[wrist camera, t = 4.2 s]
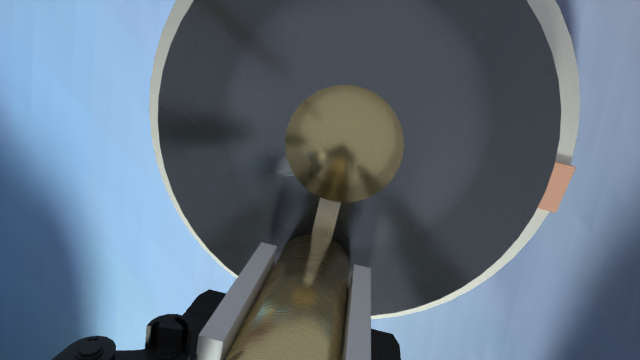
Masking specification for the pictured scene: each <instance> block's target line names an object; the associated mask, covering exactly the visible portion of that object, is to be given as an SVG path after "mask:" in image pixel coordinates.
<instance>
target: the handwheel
mask: <svg viewBox="0 0 640 360" xmlns="http://www.w3.org/2000/svg"><path fill="white" fill-rule="evenodd" d="M560 125H561V100H560V89H559V80H558V75H557V71H556V67H555V63H554V59H553V54H552V51H551V49H550V46H549V44H548V41H547V39H546V36H545V34H544V31H543V29H542V26H541V24H540V22H539V20H538V19H537V17H536V15H535V14H534V12H533V10H532V9H531V7H530V5H529V3H528V2H527V0H194V1H193V2H192V4H191V6H190V7H189V9H188V11H187V12H186V14H185V15H184V17H183V19H182V20H181V22H180V24H179V27H178V29H177V31H176V33H175V36H174V38H173V40H172V42H171V45H170V48H169V51H168V54H167V58H166V61H165V64H164V68H163V72H162V78H161V84H160V90H159V97H158V131H159V143H160V149H161V154H162V158H163V163H164V168H165V171H166V174H167V177H168V180H169V183H170V186H171V189H172V192H173V194H174V196H175V198H176V200H177V202H178V204H179V207H180V209H181V211H182V213H183V214H184V216H185V218H186V219H187V221H188V222H189V224H190V226H191V227H192V229H193V230H194V232H195V233H196V234H197V236H198V237H199V238H200V239H201V241H202V242H203V243H204V244H205V246H206V247H207V248H208V249H209V251H210V252H212V253H213V254H214V255H215V256H216V257H217V258H218V259H219V260H220V261H221V262H222V263H223V264H224V265H225V266H226V267H227V268H228V269H230V270H231V271H232V272H233V273H235V274H236V275H237V276H239V275H240V273H241V272H242V270H243V269H244V267H245V266H246V264H247V263H248V261H249V260H250V258H251V257H252V255H253V254H254V252H255V251H256V250H257V248H258V247H259V245H260V244H261V242H262V243H267V244H271V245H275V246H277V250H276V256H275V262H274V267H273V269H272V271H271V273H270V275H269V277H268V278H267V280H266V282H265V284H264V286H263V288H262V290H261V292H260V294H259V296H258V297H257V299H256V301H255V303H254V305H253V307H252V309H251V311H250V313H249V315H248V317H247V318H246V320H245V322H244V324H243V326H242V328H241V330H240V332H239V334H238V336H237V337H236V339H235V341H234V343H233V345H232V347H231V349H230V351H229V353H228V355H227V356H226V358H225V360H341V350H342V341H343V332H344V323H345V313H346V304H347V295H348V288H349V284H350V279H351V275H352V271H353V267H354V264H355V265H359V266H364V267H368V268H371V316H375V315H383V314H390V313H397V312H401V311H405V310H409V309H413V308H417V307H420V306H423V305H425V304H428V303H431V302H433V301H436V300H439V299H441V298H443V297H445V296H447V295H449V294H451V293H453V292H455V291H457V290H458V289H460V288H462V287H464V286H465V285H467V284H468V283H470V282H471V281H473V280H474V279H475V278H477V277H478V276H480V275H481V274H483V273H484V272H485V271H486V270H487V269H488V268H490V267H491V266H492V265H493V264H494V263H495V262H496V261H497V260H499V259H500V258H501V257H502V256H503V255H504V254H505V252H506V251H507V250H508V249H509V248H510V247H511V246H512V245H513V243H514V242H515V241H516V240H517V239H518V238H519V236H520V235H521V233H522V232H523V230H524V229H525V227H526V226H527V224H528V223H529V222H530V220H531V219H532V217H533V216H534V214H535V212H536V210H537V208H538V206H539V204H540V202H541V200H542V198H543V196H544V194H545V192H546V189H547V186H548V183H549V180H550V177H551V174H552V171H553V168H554V165H555V160H556V155H557V150H558V145H559V140H560Z"/></svg>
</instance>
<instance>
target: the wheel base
mask: <svg viewBox="0 0 640 360" xmlns="http://www.w3.org/2000/svg"><path fill="white" fill-rule="evenodd" d="M193 1H194V0H176V2H175V4H174V6H173V8H172V10H171V13H170V15H169V17H168V19H167V22H166V24H165V26H164V28H163V31H162V34H161V38H160V41H159V44H158V48H157V51H156V55H155V59H154V65H153V71H152V77H151V83H150V107H149V112H150V124H151V136H152V141H153V146H154V151H155V156H156V161H157V164H158V167H159V170H160V173H161V176H162V179H163V182H164V185H165V187H166V190H167V192H168V194H169V196H170V198H171V200H172V202H173V205H174V207H175V209H176V210H177V212H178V213H179V215H180V217H181V218H182V220H183V222H184V223H185V225H186V226H187V228H188V230H189V231H190V232H191V233H192V235H193V236H194V237H195V238H196V240H197V241H198V242H199V243H200V245H201V246H202V247H203V248H204V249H205V250H206V251H207V252H208V253H209V254H210V255H211V256H212V257H213V258H214V260H215V261H216V262H217V263H218V264H219V265H221V266H222V267H223V268H224V269H226V270H227V271H228V272H229V273H231V274H232V275H233V276H234V277H236V278H238V276H237V275H236V274H235V273H233V272H232V271H231V270H230V269H228V268H227V267H226V266H225V265H224V264H223V263H222V262H221V261H220V260H219V259H218V258H217V257H216V256H215V255H214V254H213V253H212V252H210V251H209V249H208V248H207V247H206V246H205V244H204V243H203V242H202V241H201V239H200V238H199V237H198V236H197V234H196V233H195V232H194V230H193V229H192V227H191V226H190V224H189V222H188V221H187V219H186V218H185V216H184V214H183V213H182V211H181V209H180V207H179V204H178V202H177V200H176V198H175V196H174V194H173V192H172V189H171V186H170V183H169V180H168V177H167V174H166V171H165V168H164V163H163V158H162V154H161V149H160V143H159V131H158V97H159V90H160V84H161V78H162V72H163V68H164V64H165V61H166V58H167V54H168V51H169V48H170V45H171V42H172V40H173V38H174V36H175V33H176V31H177V29H178V27H179V24H180V22H181V20H182V19H183V17H184V15H185V14H186V12H187V11H188V9H189V7H190V6H191V4H192V2H193ZM527 2H528V3H529V5H530V7H531V9H532V10H533V12H534V14H535V15H536V17H537V19H538V20H539V22H540V24H541V26H542V29H543V31H544V34H545V36H546V39H547V41H548V44H549V46H550V49H551V51H552V54H553V59H554V63H555V67H556V71H557V75H558V80H559V89H560V100H561V125H560V140H559V145H558V150H557V155H556V160H555V165H554V168H553V171H552V174H551V177H550V180H549V183H548V186H547V189H546V192H545V194H544V196H543V198H542V200H541V202H540V204H539V206H538V208H537V210H536V212H535V214H534V216H533V217H532V219H531V220H530V222H529V223H528V224H527V226H526V227H525V229H524V230H523V232H522V233H521V235H520V236H519V238H518V239H517V240H516V241H515V242H514V243H513V245H512V246H511V247H510V248H509V249H508V250H507V251H506V252H505V254H504V255H503V256H502V257H501V258H500V259H499V260H497V261H496V262H495V263H494V264H493V265H492V266H491V267H490V268H488V269H487V270H486V271H485V272H484V273H483V274H481V275H480V276H478V277H477V278H475V279H474V280H473V281H471V282H470V283H468V284H467V285H465V286H464V287H462V288H460V289H458V290H457V291H455V292H453V293H451V294H449V295H447V296H445V297H443V298H441V299H439V300H436V301H433V302H431V303H428V304H425V305H423V306H420V307H417V308H413V309H409V310H405V311H401V312H397V313H390V314H383V315H375V316H371V319H379V318H387V317H396V316H402V315H406V314H410V313H414V312H419V311H423V310H426V309H429V308H431V307H434V306H437V305H440V304H442V303H445V302H448V301H450V300H452V299H454V298H456V297H458V296H460V295H462V294H464V293H466V292H468V291H470V290H471V289H473V288H474V287H476V286H477V285H479V284H480V283H482V282H483V281H485V280H486V279H488V278H489V277H491V276H492V275H494V274H495V273H496V272H497V271H498V270H500V269H501V268H502V267H503V266H504V265H505V264H507V263H508V262H509V261H510V260H511V259H512V258H514V256H515V255H516V254H517V253H518V252H519V251H520V250H521V249H522V248H523V247H524V245H525V244H526V243H527V242H528V241H529V240H530V239H531V238H532V236H533V235H534V234H535V232H536V231H537V229H538V228H539V226H540V225H541V224H542V222H543V221H544V219H545V218H546V216H547V215H548V213H549V212H550V211H551V212H555V213H556V211H557V209H558V207H559V204H560V202H561V200H562V198H563V195H564V193H565V191H566V189H567V186H568V184H569V182H570V180H571V177H572V175H573V173H574V171H575V168H576V167H574V166H571V165H570V164H571V161H572V157H573V152H574V147H575V143H576V138H577V133H578V124H579V111H580V90H579V76H578V67H577V62H576V58H575V53H574V48H573V44H572V39H571V36H570V34H569V31H568V28H567V26H566V23H565V21H564V18H563V15H562V13H561V10H560V8H559V6H558V4H557V2H556V1H555V0H527Z"/></svg>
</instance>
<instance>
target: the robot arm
mask: <svg viewBox="0 0 640 360" xmlns="http://www.w3.org/2000/svg"><path fill="white" fill-rule="evenodd" d="M276 250H277V246H275V245H271V244H267V243H262V242H261V244H260V245H259V247H258V248H257V250H256V251H255V252H254V254H253V255H252V257H251V258H250V260H249V261H248V263H247V264H246V266H245V267H244V269H243V270H242V272H241V273H240V275H239V276H238V278H237V279H236V281H235V282H234V284H233V285H232V286H231V288H230V289H229V291H228V292H227V294H225V293H221V292H217V291H213V290H208V291H206V292H204V293H202V294H200V295H199V296H198V297H197V298H196V299H195V300H194V302H193V303H192V305H191V306H190V307H189V308H188V309H187V310H186V313H184V314H183V315H178V314H167V315H163V316H159V317H157V318H155V319H153V320H152V321H151V322H150V323H149V324H148V325H147V330H146V344H145V349H142V350H128V351H116V345H115V343H114V342H113V340H111V339H109V338H107V337H103V336H91V337H86V338H83V339H80V340H78V341H76V342H74V343H73V344H71V345H69V346H68V347H67V348H66V349H64V350H63V351H62V352H61V353H60V354H58V355H57V356H56V357H55V358H53V359H52V360H225V358H226V356H227V355H228V353H229V351H230V349H231V347H232V345H233V343H234V341H235V339H236V337H237V336H238V334H239V332H240V330H241V328H242V326H243V324H244V322H245V320H246V318H247V317H248V315H249V313H250V311H251V309H252V307H253V305H254V303H255V301H256V299H257V297H258V296H259V294H260V292H261V290H262V288H263V286H264V284H265V282H266V280H267V278H268V277H269V275H270V273H271V271H272V269H273V267H274V262H275V256H276ZM341 360H401V358H400V347H399V344H398V342H397V340H396V339H395V337H394V335H393V334H390V333H386V332H382V331H378V330H374V329H371V268H368V267H364V266H359V265H355V264H354V267H353V271H352V275H351V279H350V284H349V288H348V295H347V304H346V313H345V323H344V332H343V341H342V350H341Z"/></svg>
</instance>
